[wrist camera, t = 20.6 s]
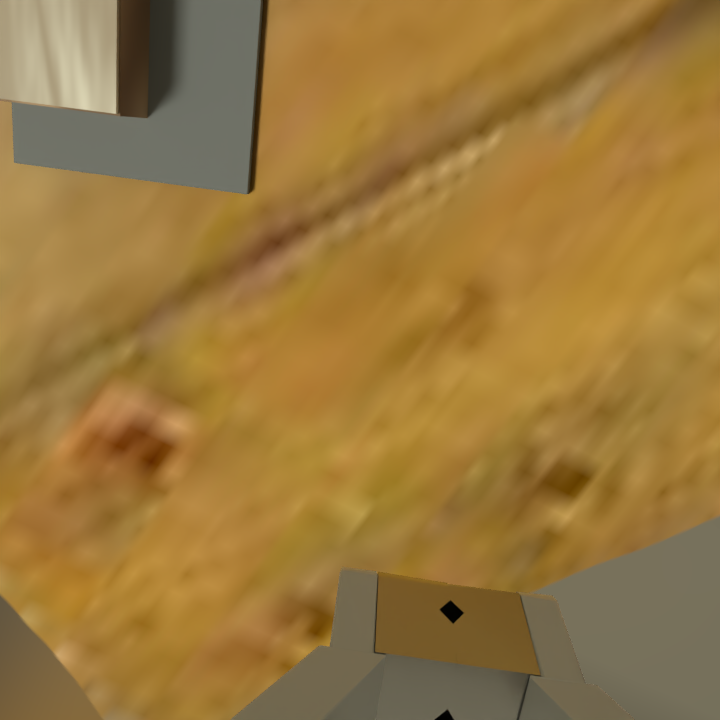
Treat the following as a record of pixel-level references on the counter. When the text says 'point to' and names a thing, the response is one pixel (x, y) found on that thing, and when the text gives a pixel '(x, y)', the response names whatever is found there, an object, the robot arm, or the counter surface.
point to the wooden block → (76, 55)
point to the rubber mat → (167, 106)
